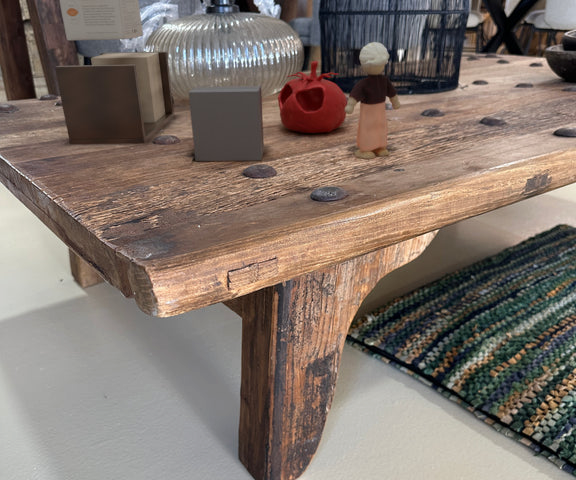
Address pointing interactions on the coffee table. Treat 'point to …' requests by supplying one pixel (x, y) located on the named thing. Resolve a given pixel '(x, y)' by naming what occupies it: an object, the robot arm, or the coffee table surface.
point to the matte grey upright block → (227, 123)
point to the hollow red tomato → (312, 103)
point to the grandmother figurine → (372, 102)
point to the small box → (101, 19)
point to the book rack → (116, 98)
